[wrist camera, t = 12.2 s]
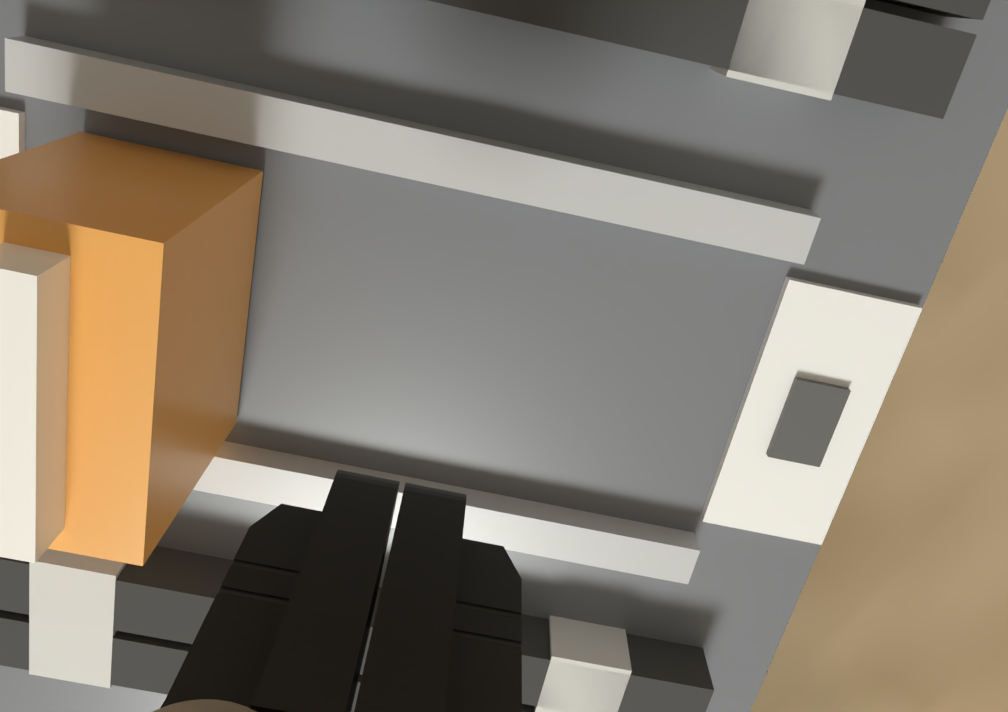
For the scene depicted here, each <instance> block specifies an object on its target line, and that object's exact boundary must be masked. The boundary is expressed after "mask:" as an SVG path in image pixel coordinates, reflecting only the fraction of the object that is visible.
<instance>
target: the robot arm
mask: <svg viewBox="0 0 1008 712" xmlns="http://www.w3.org/2000/svg"><path fill="white" fill-rule="evenodd" d="M399 484H400V481H395V480H390V479H385V478H380V477H375V476H370V475H364V474H359V473H354V472H349V471H344V470H339V469H338V470H337V472H336V475H335V477H334V480H333V483H332V486H331V488H330V491H329V494H328V496H327V499H326V502H325V505H324V507H323V510H322V511H317V510H312V509H307V508H302V507H297V506H292V505H287V504H280V505H279V506H277V507H276V508H275V509H273V510H272V511H270V512H269V513H268V514H266V515H265V516H264V517H262V518H261V519H260V520H258V521H257V522H255V523H254V524H253V525H251V526H250V527H249V529H248V531H247V533H246V535H245V537H244V539H243V541H242V543H241V545H240V547H239V549H238V551H237V554H236V556H235V558H234V561H233V565H231V566H230V568H229V570H228V572H227V574H226V576H225V578H224V580H223V582H222V584H221V587H220V591H219V593H217V595H216V597H215V599H214V601H213V603H212V605H211V607H210V609H209V611H208V613H207V615H206V617H205V619H204V621H203V623H202V625H201V627H200V629H199V631H198V633H197V635H196V638H195V640H194V642H193V644H192V646H191V648H190V650H189V652H188V654H187V656H186V658H185V660H184V662H183V664H182V666H181V668H180V670H179V672H178V674H177V676H176V679H175V681H174V683H173V685H172V687H171V689H170V691H169V693H168V695H167V697H166V699H165V701H164V702H163V704H162V706H161V707H160V709H157V710H155V711H153V712H351V710H352V706H353V701H354V697H355V693H356V688H357V684H358V680H359V675H360V671H361V666H362V662H363V658H364V653H365V649H366V644H367V640H368V636H369V631H370V626H371V622H372V617H373V612H374V608H375V603H376V598H377V593H378V589H379V584H380V579H381V574H382V569H383V564H384V559H385V554H386V549H387V544H388V539H389V534H390V529H391V525H392V520H393V515H394V510H395V505H396V500H397V495H398V490H399ZM466 498H467V495H466V494H462V493H457V492H452V491H447V490H442V489H437V488H432V487H426V486H421V485H416V484H411V483H405V487H404V491H403V496H402V500H401V505H400V509H399V513H398V518H397V522H396V527H395V531H394V536H393V540H392V545H391V549H390V554H389V558H388V563H387V567H386V571H385V576H384V580H383V585H382V589H381V594H380V598H379V603H378V607H377V612H376V616H375V621H374V625H373V630H372V634H371V638H370V643H369V647H368V652H367V656H366V661H365V665H364V670H363V674H362V679H361V683H360V688H359V692H358V696H357V701H356V705H355V710H354V712H522V649H521V642H522V620H521V613H522V579H521V577H520V575H519V573H518V571H517V570H516V568H515V566H514V564H513V563H512V561H511V559H510V557H509V555H508V554H507V552H506V550H505V548H504V546H499V545H494V544H489V543H484V542H479V541H474V540H468V539H463V528H464V519H465V509H466Z"/></svg>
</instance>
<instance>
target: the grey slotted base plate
mask: <svg viewBox="0 0 1008 712" xmlns="http://www.w3.org/2000/svg"><path fill="white" fill-rule="evenodd" d="M428 1H433V2H437V3H441V4H446V5H450V6H454V7H459V8H463V9H467V10H472V11H476V12H480V13H485V14H489V15H493V16H498V17H502V18H506V19H511V20H515V21H519V22H524V23H528V24H532V25H537V26H541V27H545V28H550V29H554V30H558V31H563V32H567V33H571V34H576V35H580V36H584V37H589V38H593V39H597V40H602V41H606V42H611V43H615V44H619V45H624V46H628V47H632V48H637V49H641V50H645V51H650V52H654V53H658V54H663V55H667V56H671V57H676V58H680V59H684V60H689V61H693V62H697V63H702V64H706V65H710V66H711V67H710V69H711V70H713V71H715V72H717V73H719V74H722V75H724V76H726V77H730V78H734V79H739V80H743V81H747V82H752V83H756V84H760V85H765V86H769V87H773V88H778V89H782V90H786V91H791V92H795V93H799V94H804V95H808V96H813V97H817V98H821V99H826V100H830V101H831V99H832V96H833V94H836V95H841V96H845V97H849V98H854V99H858V100H862V101H867V102H871V103H875V104H880V105H884V106H888V107H893V108H897V109H901V110H906V111H910V112H914V113H919V114H923V115H927V116H932V117H936V118H940V119H943V118H944V116H945V113H946V111H947V108H948V106H949V103H950V101H951V98H952V96H953V93H954V91H955V88H956V86H957V83H958V81H959V78H960V76H961V73H962V71H963V68H964V66H965V63H966V61H967V58H968V56H969V53H970V51H971V48H972V46H973V43H974V41H975V38H976V36H977V35H976V34H972V33H968V32H964V31H960V30H955V29H951V28H947V27H943V26H938V25H934V24H930V23H926V22H922V21H917V20H913V19H909V18H905V17H901V16H896V15H892V14H888V13H884V12H879V11H875V10H871V9H867V8H863V7H864V4H865V1H866V0H428ZM877 1H881V2H885V3H890V4H894V5H898V6H902V7H906V8H911V9H915V10H919V11H923V12H927V13H932V14H936V15H940V16H944V17H954V18H966V19H977V20H983V18H984V16H985V13H986V11H987V8H988V6H989V3H990V1H991V0H877ZM233 561H234V560H230V559H224V558H219V557H214V556H208V555H203V554H198V553H192V552H187V551H182V550H176V549H171V548H165V547H160V546H156V547H155V549H154V550H153V552H152V553H151V555H150V556H149V558H148V559H147V561H146V562H145V564H144V565H143V566H139V565H133V564H128V563H123V562H117V561H112V560H106V559H101V558H96V557H90V556H85V555H79V554H74V553H69V552H63V551H58V550H52V549H47V550H46V551H45V552H44V553H43V555H42V556H41V557H40V558H39V559H38V561H37V562H36V563H31V562H26V561H20V560H15V559H9V558H4V557H0V665H2V666H7V667H13V668H19V669H24V670H29V674H31V675H37V676H42V677H48V678H54V679H59V680H65V681H71V682H76V683H82V684H88V685H93V686H99V687H105V688H111V686H112V685H115V686H121V687H126V688H132V689H138V690H143V691H149V692H155V693H160V694H166V695H168V693H169V691H170V689H171V687H172V685H173V683H174V681H175V679H176V676H177V674H178V672H179V670H180V668H181V666H182V664H183V662H184V660H185V658H186V656H187V654H188V652H189V650H190V648H191V646H192V644H193V642H194V640H195V638H196V635H197V633H198V631H199V629H200V627H201V625H202V623H203V621H204V619H205V617H206V615H207V613H208V611H209V609H210V607H211V605H212V603H213V601H214V599H215V597H216V595H217V593H219V591H220V587H221V584H222V582H223V580H224V578H225V576H226V574H227V572H228V570H229V568H230V566H231V565H233ZM381 589H382V588H380V587H379V589H378V593H377V598H376V603H375V608H374V612H373V617H372V622H371V626H370V631H369V636H368V640H367V644H366V649H365V653H364V658H363V662H362V666H361V671H360V675H359V680H358V684H357V688H356V693H355V697H354V701H353V706H352V710H351V712H354V710H355V705H356V701H357V696H358V692H359V688H360V683H361V679H362V674H363V670H364V665H365V661H366V656H367V652H368V647H369V643H370V638H371V634H372V630H373V625H374V621H375V616H376V612H377V607H378V603H379V598H380V594H381ZM521 620H522V642H521V649H522V712H706V710H707V707H708V705H709V702H710V700H711V697H712V695H713V692H714V687H713V684H712V680H711V676H710V672H709V669H708V665H707V661H706V658H705V654H704V650H703V648H701V647H696V646H690V645H685V644H680V643H674V642H669V641H663V640H658V639H653V638H647V637H642V636H637V635H631V634H626V630H625V629H621V628H615V627H610V626H605V625H599V624H594V623H588V622H583V621H578V620H572V619H567V618H562V617H556V616H551V615H550V618H549V619H546V618H540V617H535V616H530V615H524V614H521Z"/></svg>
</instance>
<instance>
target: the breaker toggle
mask: <svg viewBox="0 0 1008 712" xmlns="http://www.w3.org/2000/svg"><path fill="white" fill-rule="evenodd" d="M262 178H263V171H261V170H257V169H252V168H247V167H243V166H238V165H233V164H229V163H224V162H220V161H215V160H210V159H206V158H201V157H196V156H192V155H187V154H182V153H178V152H173V151H168V150H164V149H159V148H155V147H150V146H145V145H141V144H136V143H131V142H127V141H122V140H117V139H113V138H108V137H103V136H99V135H94V134H89V133H85V132H78V133H75V134H72V135H69V136H67V137H64V138H61V139H58V140H55V141H52V142H49V143H46V144H43V145H40V146H37V147H34V148H31V149H28V150H25V151H22V152H19V153H17V154H14V155H11V156H8V157H5V158H2V159H0V557H4V558H9V559H15V560H20V561H26V562H31V563H36V562H37V561H38V559H39V558H40V557H41V556H42V555H43V553H44V552H45V551H46V550H47V549H52V550H58V551H63V552H69V553H74V554H79V555H85V556H90V557H96V558H101V559H106V560H112V561H117V562H123V563H128V564H133V565H139V566H143V565H144V564H145V562H146V561H147V559H148V558H149V556H150V555H151V553H152V552H153V550H154V549H155V547H156V545H157V544H158V542H159V541H160V539H161V538H162V536H163V535H164V533H165V532H166V530H167V529H168V527H169V525H170V524H171V522H172V521H173V519H174V518H175V516H176V515H177V513H178V512H179V510H180V509H181V507H182V505H183V504H184V502H185V501H186V499H187V498H188V496H189V495H190V493H191V492H192V490H193V489H194V487H195V485H196V484H197V482H198V481H199V479H200V478H201V476H202V475H203V473H204V472H205V470H206V469H207V467H208V466H209V464H210V462H211V461H212V459H213V458H214V456H215V455H216V453H217V452H218V450H219V449H220V447H221V446H222V444H223V442H224V441H225V439H226V438H227V436H228V435H229V433H230V432H231V430H232V429H233V427H234V426H235V424H236V422H237V412H238V403H239V393H240V384H241V375H242V365H243V356H244V347H245V337H246V328H247V319H248V309H249V300H250V290H251V281H252V272H253V262H254V253H255V244H256V234H257V225H258V216H259V206H260V197H261V187H262Z"/></svg>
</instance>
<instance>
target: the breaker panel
mask: <svg viewBox="0 0 1008 712" xmlns="http://www.w3.org/2000/svg"><path fill="white" fill-rule="evenodd" d="M863 8H867V9H871V10H875V11H879V12H884V13H888V14H892V15H896V16H901V17H905V18H909V19H913V20H917V21H922V22H926V23H930V24H934V25H938V26H943V27H947V28H951V29H955V30H960V31H964V32H968V33H972V34H976V35H977V36H976V38H975V41H974V43H973V46H972V48H971V51H970V53H969V56H968V58H967V61H966V63H965V66H964V68H963V71H962V73H961V76H960V78H959V81H958V83H957V86H956V88H955V91H954V93H953V96H952V98H951V101H950V103H949V106H948V108H947V111H946V113H945V116H944V118H943V119H940V118H936V117H932V116H927V115H923V114H919V113H914V112H910V111H906V110H901V109H897V108H893V107H888V106H884V105H880V104H875V103H871V102H867V101H862V100H858V99H854V98H849V97H845V96H841V95H836V94H833V96H832V99H831V101H830V100H826V99H821V98H817V97H813V96H808V95H804V94H799V93H795V92H791V91H786V90H782V89H778V88H773V87H769V86H765V85H760V84H756V83H752V82H747V81H743V80H739V79H734V78H730V77H726V76H724V75H722V74H719V73H717V72H715V71H713V70H711V69H710V67H711V66H710V65H706V64H702V63H697V62H693V61H689V60H684V59H680V58H676V57H671V56H667V55H663V54H658V53H654V52H650V51H645V50H641V49H637V48H632V47H628V46H624V45H619V44H615V43H611V42H606V41H602V40H597V39H593V38H589V37H584V36H580V35H576V34H571V33H567V32H563V31H558V30H554V29H550V28H545V27H541V26H537V25H532V24H528V23H524V22H519V21H515V20H511V19H506V18H502V17H498V16H493V15H489V14H485V13H480V12H476V11H472V10H467V9H463V8H459V7H454V6H450V5H446V4H441V3H437V2H433V1H428V0H0V159H2V158H5V157H8V156H11V155H14V154H17V153H19V152H22V151H25V150H28V149H31V148H34V147H37V146H40V145H43V144H46V143H49V142H52V141H55V140H58V139H61V138H64V137H67V136H69V135H72V134H75V133H78V132H85V133H89V134H94V135H99V136H103V137H108V138H113V139H117V140H122V141H127V142H131V143H136V144H141V145H145V146H150V147H155V148H159V149H164V150H168V151H173V152H178V153H182V154H187V155H192V156H196V157H201V158H206V159H210V160H215V161H220V162H224V163H229V164H233V165H238V166H243V167H247V168H252V169H257V170H261V171H263V178H262V187H261V197H260V206H259V216H258V225H257V234H256V244H255V253H254V262H253V272H252V281H251V290H250V300H249V309H248V319H247V328H246V337H245V347H244V356H243V365H242V375H241V384H240V393H239V403H238V412H237V422H236V424H235V426H234V427H233V429H232V430H231V432H230V433H229V435H228V436H227V438H226V439H225V441H224V442H223V444H222V446H221V447H220V449H219V450H218V452H217V453H216V455H215V456H214V458H213V459H212V461H211V462H210V464H209V466H208V467H207V469H206V470H205V472H204V473H203V475H202V476H201V478H200V479H199V481H198V482H197V484H196V485H195V487H194V489H193V490H192V492H191V493H190V495H189V496H188V498H187V499H186V501H185V502H184V504H183V505H182V507H181V509H180V510H179V512H178V513H177V515H176V516H175V518H174V519H173V521H172V522H171V524H170V525H169V527H168V529H167V530H166V532H165V533H164V535H163V536H162V538H161V539H160V541H159V542H158V544H157V545H156V546H160V547H165V548H171V549H176V550H182V551H187V552H192V553H198V554H203V555H208V556H214V557H219V558H224V559H230V560H234V558H235V556H236V554H237V551H238V549H239V547H240V545H241V543H242V541H243V539H244V537H245V535H246V533H247V531H248V529H249V527H250V526H251V525H253V524H254V523H255V522H257V521H258V520H260V519H261V518H262V517H264V516H265V515H266V514H268V513H269V512H270V511H272V510H273V509H275V508H276V507H277V506H279V505H280V504H287V505H292V506H297V507H302V508H307V509H312V510H317V511H322V510H323V507H324V505H325V502H326V499H327V496H328V494H329V491H330V488H331V486H332V483H333V480H334V477H335V475H336V472H337V470H338V469H339V470H344V471H349V472H354V473H359V474H364V475H370V476H375V477H380V478H385V479H390V480H395V481H400V484H399V490H398V495H397V500H396V505H395V510H394V515H393V520H392V525H391V529H390V534H389V539H388V544H387V549H386V554H385V559H384V564H383V569H382V574H381V579H380V584H379V587H380V588H382V585H383V580H384V576H385V571H386V567H387V563H388V558H389V554H390V549H391V545H392V540H393V536H394V531H395V527H396V522H397V518H398V513H399V509H400V505H401V500H402V496H403V491H404V487H405V483H411V484H416V485H421V486H426V487H432V488H437V489H442V490H447V491H452V492H457V493H462V494H466V495H467V498H466V509H465V519H464V528H463V539H468V540H474V541H479V542H484V543H489V544H494V545H499V546H504V548H505V550H506V552H507V554H508V555H509V557H510V559H511V561H512V563H513V564H514V566H515V568H516V570H517V571H518V573H519V575H520V577H521V579H522V613H521V614H524V615H530V616H535V617H540V618H546V619H549V618H550V615H551V616H556V617H562V618H567V619H572V620H578V621H583V622H588V623H594V624H599V625H605V626H610V627H615V628H621V629H625V630H626V634H631V635H637V636H642V637H647V638H653V639H658V640H663V641H669V642H674V643H680V644H685V645H690V646H696V647H701V648H703V650H704V654H705V658H706V661H707V665H708V669H709V672H710V676H711V680H712V684H713V687H714V692H713V695H712V697H711V700H710V702H709V705H708V707H707V710H706V712H750V710H751V708H752V706H753V703H754V701H755V699H756V696H757V694H758V692H759V689H760V687H761V685H762V682H763V680H764V678H765V675H766V673H767V671H768V668H769V666H770V664H771V661H772V659H773V656H774V654H775V652H776V649H777V647H778V645H779V642H780V640H781V638H782V635H783V633H784V631H785V628H786V626H787V624H788V621H789V619H790V617H791V614H792V612H793V610H794V607H795V605H796V603H797V600H798V598H799V596H800V593H801V591H802V589H803V586H804V584H805V581H806V579H807V577H808V574H809V572H810V570H811V567H812V565H813V563H814V560H815V558H816V556H817V553H818V551H819V549H820V546H821V545H822V543H823V540H824V538H825V536H826V533H827V531H828V529H829V526H830V524H831V522H832V519H833V517H834V515H835V512H836V510H837V508H838V505H839V503H840V501H841V498H842V496H843V493H844V491H845V489H846V486H847V484H848V482H849V479H850V477H851V475H852V472H853V470H854V468H855V465H856V463H857V461H858V458H859V456H860V454H861V451H862V449H863V447H864V444H865V442H866V440H867V437H868V435H869V433H870V430H871V428H872V426H873V423H874V421H875V419H876V416H877V414H878V411H879V409H880V407H881V404H882V402H883V400H884V397H885V395H886V393H887V390H888V388H889V386H890V383H891V381H892V379H893V376H894V374H895V372H896V369H897V367H898V365H899V362H900V360H901V358H902V355H903V353H904V351H905V348H906V346H907V344H908V341H909V339H910V337H911V334H912V332H913V330H914V327H915V325H916V322H917V320H918V318H919V315H920V313H921V311H922V307H923V305H924V303H925V300H926V298H927V296H928V293H929V291H930V288H931V286H932V284H933V281H934V279H935V277H936V274H937V272H938V270H939V267H940V265H941V263H942V260H943V258H944V256H945V253H946V251H947V249H948V246H949V244H950V242H951V239H952V237H953V235H954V232H955V230H956V228H957V225H958V223H959V221H960V218H961V216H962V213H963V211H964V209H965V206H966V204H967V202H968V199H969V197H970V195H971V192H972V190H973V188H974V185H975V183H976V181H977V178H978V176H979V174H980V171H981V169H982V167H983V164H984V162H985V160H986V157H987V155H988V153H989V150H990V148H991V146H992V143H993V141H994V138H995V136H996V134H997V131H998V129H999V127H1000V124H1001V122H1002V120H1003V117H1004V115H1005V113H1006V110H1007V108H1008V0H991V1H990V3H989V6H988V8H987V11H986V13H985V16H984V18H983V20H977V19H966V18H954V17H944V16H940V15H936V14H932V13H927V12H923V11H919V10H915V9H911V8H906V7H902V6H898V5H894V4H890V3H885V2H881V1H877V0H866V1H865V4H864V7H863ZM166 697H167V695H166V694H160V693H155V692H149V691H143V690H138V689H132V688H126V687H121V686H115V685H112V686H111V688H105V687H99V686H93V685H88V684H82V683H76V682H71V681H65V680H59V679H54V678H48V677H42V676H37V675H31V674H29V670H24V669H19V668H13V667H7V666H2V665H0V712H153V711H155V710H157V709H160V707H161V706H162V704H163V702H164V701H165V699H166Z"/></svg>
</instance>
